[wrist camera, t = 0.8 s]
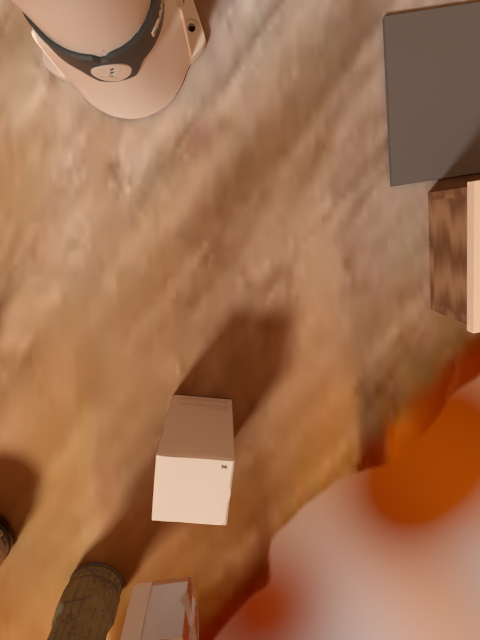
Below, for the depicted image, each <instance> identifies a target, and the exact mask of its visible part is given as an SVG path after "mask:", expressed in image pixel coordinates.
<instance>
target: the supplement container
mask: <svg viewBox="0 0 480 640" xmlns="http://www.w3.org/2000/svg"><path fill="white" fill-rule="evenodd" d="M12 544H13V535H12V531H11V529H10V527H9V525H8V524H7V523H6V521H5V520H4V519H2V518H1V517H0V566H1V564H2V563H3V561H4V560H5V559H6V557H7V556H8V554H9V553H10V551H11V548H12Z"/></svg>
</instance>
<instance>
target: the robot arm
mask: <svg viewBox="0 0 480 640" xmlns="http://www.w3.org/2000/svg"><path fill="white" fill-rule="evenodd" d="M11 1H12V2H13V3H14V4H15V5H16V6H17V7H18V8H19V9H20V10H21V11H22V12H23V14H24V16H25V17H26V19H27V21H28V22H29V24H30V25H31V27H32V28H33V30H32V31H31V33H32V36H33V38H34V40H35V41H36V43H37V44H38V45H39V46H40V48H41V49H42V54H43V62H44V64H45V66H46V67H47V68H48V70H49V71H50V72H51V73H53V74H54V75H56V76H57V77H59V78H61V79H63V80H65V81H67V82H69V83H71V84H72V85H73V86H74V87H75V88H76V89H77V90H78V91H79V92H80V93H81V94H82V95H83V97H84V98H85V99H86V100H87V101H88V102H90V103H91V104H92V105H93V106H95V107H96V108H98V109H99V110H101V111H103V112H104V113H107V114H109V115H112V116H115V117H119V118H125V119H136V118H143V117H146V116H149V115H152V114H154V113H156V112H158V111H160V110H161V109H163V108H164V107H165V106H166V105H167V104H169V103H170V102H171V100H172V99H173V98H174V97H175V95H176V94H177V92H178V91H179V89H180V87H181V85H182V83H183V81H184V78H185V75H186V73H187V70H188V68H189V67H190V65H191V64H192V63H193V62H194V61H195V60H196V59H197V58H198V57H199V56H200V55H201V53H202V52H203V51H204V49H205V47H206V37H205V34H204V31H203V27H202V24H201V21H200V18H199V15H198V12H197V9H196V6H195V3H194V0H11ZM191 26H193V27H195V31H194V32H190V31H189V30H188V29H189V27H191ZM192 594H193V585H192V581H191V577H184V578H176V579H167V580H159V581H153V582H145V583H137V584H135V586H134V588H133V590H132V594H131V598H130V602H129V606H128V610H127V614H126V618H125V622H124V626H123V630H122V634H121V638H120V640H198V633H199V626H198V610H197V604H196V600H195V599H194V598H193V597H192Z"/></svg>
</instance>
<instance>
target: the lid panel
mask: <svg viewBox="0 0 480 640" xmlns="http://www.w3.org/2000/svg"><path fill="white" fill-rule="evenodd" d="M467 331H469V332H472V333H478V332H480V180H478V181H472V182H467Z"/></svg>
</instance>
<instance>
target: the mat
mask: <svg viewBox="0 0 480 640" xmlns="http://www.w3.org/2000/svg"><path fill="white" fill-rule="evenodd" d="M383 36H384V58H385V79H386V100H387V122H388V143H389V164H390V186H397V185H403V184H410V183H416V182H423V181H429V180H436V179H442V178H448V177H455V176H461V175H468V174H474V173H480V2H475V3H469V4H462V5H455V6H449V7H442V8H436V9H429V10H422V11H416V12H409V13H402V14H396V15H389V16H385V17H384V18H383Z"/></svg>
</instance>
